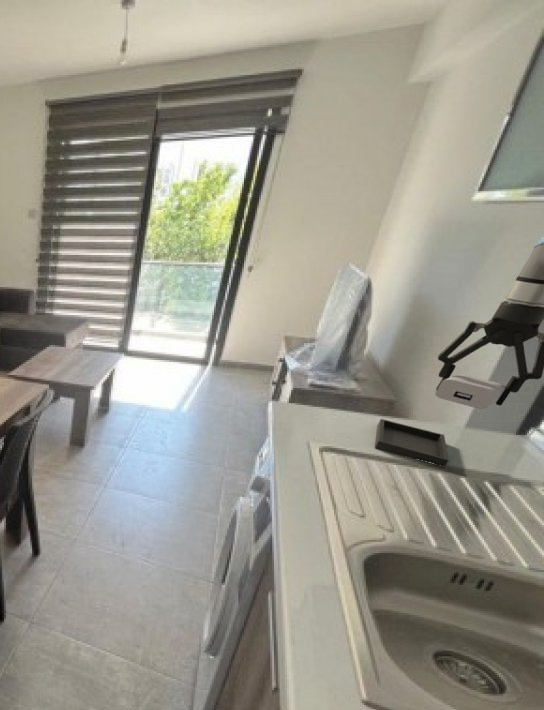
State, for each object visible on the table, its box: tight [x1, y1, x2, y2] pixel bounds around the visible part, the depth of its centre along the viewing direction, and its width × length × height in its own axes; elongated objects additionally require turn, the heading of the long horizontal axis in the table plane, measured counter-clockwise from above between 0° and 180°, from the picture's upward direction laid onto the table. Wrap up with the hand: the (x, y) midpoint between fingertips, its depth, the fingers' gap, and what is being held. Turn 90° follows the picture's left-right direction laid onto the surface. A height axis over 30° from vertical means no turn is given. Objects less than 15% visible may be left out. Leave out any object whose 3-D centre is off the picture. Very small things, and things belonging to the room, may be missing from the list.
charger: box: [434, 373, 506, 410], centre depth 115 cm, size 5×9×15 cm
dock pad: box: [374, 418, 450, 468], centre depth 122 cm, size 13×19×2 cm
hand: (467, 396), depth 116 cm, fingers closed on charger, 10 cm apart
